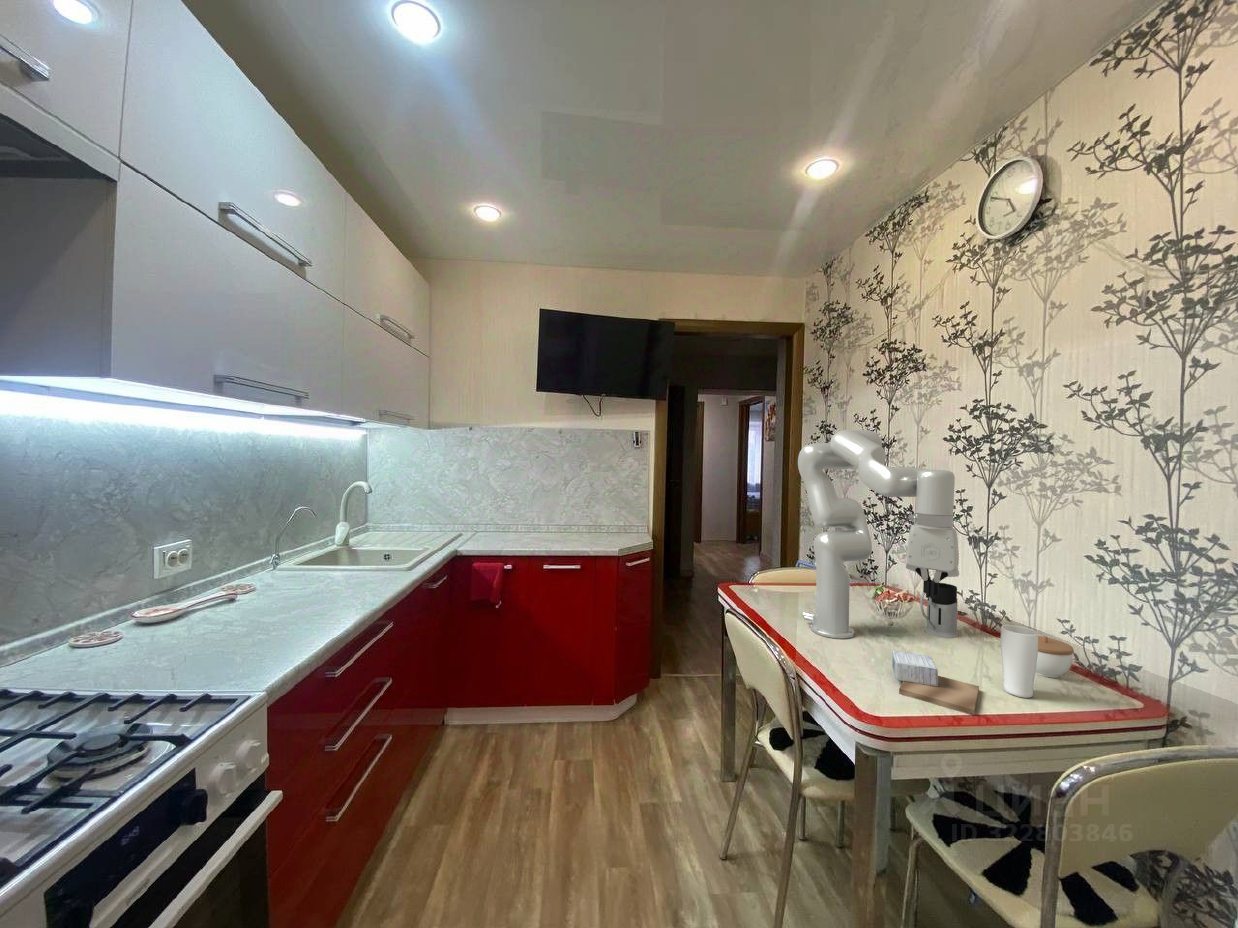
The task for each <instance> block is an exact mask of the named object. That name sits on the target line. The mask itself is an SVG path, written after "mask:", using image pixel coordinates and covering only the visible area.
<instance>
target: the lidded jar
mask: <svg viewBox="0 0 1238 928" xmlns="http://www.w3.org/2000/svg"><path fill="white" fill-rule="evenodd" d="M1038 642H1039V644H1038V657H1037V664H1036V671H1035V675H1038V676H1041V677H1045V678H1052V679H1056V678H1057V679H1058V678H1060V677H1061V676H1062V675H1065V674H1066V673H1068V671H1069V670H1070V669H1071V668H1072V665H1073V660H1074V659H1073V657H1074V647H1073V646H1072V645H1070V644H1068V643H1066V642H1063V641H1062V640H1060V639H1059V640H1058V639H1056V638H1055V639H1054V638H1051V637H1048V636H1047V635H1042V636H1041V635H1038Z"/></svg>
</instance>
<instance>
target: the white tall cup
mask: <svg viewBox="0 0 1238 928" xmlns="http://www.w3.org/2000/svg"><path fill="white" fill-rule="evenodd" d="M1038 636H1039V633H1038V631H1037V630H1034V629H1032V628H1029V627H1025V626H1021V625H1014V624H1004V625H1003V624H1002V625H1001V629H1000V654H1001V665H1002V667H1001V668H1002V681H1003V683H1002V687H1003V690H1004V691H1005V692H1007V693H1008V694H1009V695H1011V696H1014V697H1017V698H1024V699H1030V698H1032V697H1033V696H1034V684H1035V677H1036V674H1035V671H1036V664H1037V657H1038V644H1039V642H1038Z"/></svg>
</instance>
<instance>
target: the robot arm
mask: <svg viewBox="0 0 1238 928" xmlns="http://www.w3.org/2000/svg"><path fill="white" fill-rule="evenodd" d="M886 458H887V453H886V450H885V448H884V447H883V443H882V439H881V437H880V435H879V434H878V433H876V432H875V431H873V430H867V429H842V430H839V431H836V432H835V433H834V434H833V435H832V436H831V438H830V441H829V442H814V443H810V444H806V445H804V446H803V447H802V448H801V450H800V451H799V453H798V457H797V468H798V471H799V472H798V473H799V475H800V477H801V480H802V483H803V484H804V487H805V490H806V496H807V499H808V504H809V510H810V513H811V517H812V520H813V523H814V524H815V525H816V526H817V527H820V528H828V529H829V528H830V529H831V528H842V530H828V531H823V532H820V533H819V534H817V535H816V536H815V537H814V540H813V552H814V556H815V557H814V558H815V566H816V567H815V568H816V573H815V574H816V577H815V578H816V582H815V584H816V586H815V587H816V588H815V589H816V590H815V591H816V592H815V593H816V595H815V596H816V597H815V613H814V612H813V613H810V612H806V611H804V612H803V613H802V618H803V620H804V621H809V622H811V623H810V627H809V628H810V630H811V631H812V632H813V633H815V634H817V635H819V636H822V637H827V638H832V639H849V638H852V637H854V635H855V629H854V628H852V627H851V626H850V586H851V585H850V582H851V581H850V579H851V578H850V573H849V571H848V570H847V568H846V566H845V564H844V563H846V562H860V561H861V562H862V561H864V560H867V559H869V558H870V556H871V554H872V552H873V543H872V539H871V534H870V531H869V527H868V523H867V519H866V515H865V512H864V509H863V506H862V505H861V504H860V503H859V502H858V501H857V499H854V498H850V497H838V495H837V492H836V489H835V485H834V482H833V481H832V480H831V478H830V476H828V474H826V473H825V472H824V471H823V470H849V469H852V468H854V467H855V468H857V473H858V476H859V478H860V481H861V482H862V484H864V485H865V486H866V487H868V488H869V489H870V490H872V492H873V491H874V493H877V494H878V495H880V496H883V497H888V498H903V497H904V498H916V499H915V512H914V513H912V514H911V513H909V514H908V520H909V521H912V522H914V524H911V525H910V527H909V528H910V529H909V532H908V539H907V547H906V557H905V558H906V565H905V568H906V569H907V570H909V571H913V572H915V573H916V574H917V575H918V576H919V577H920V578H921V579H922V581H923V585H922V586H923V588H922V589H923V590H922V591H923V592H922V593H926V594H925V598H927V599H928V598H931V599H934V598H935V596H936V595H939V583H941V581H942V580H944V579H946V578H957V577H959V575H960V570H959V561H960V559H959V557H960V556H959V555H960V553H959V541H958V539H959V538H958V533H957V528H955V527H953V526H954V509H955V508H954V503H955V482H956V481H955V480H956V478H955V474H954V473H953V472H952V470H951V471H950V470H948V469H947V470H946V469H928V468H924V467H915V466H914V467H908V466H907V467H906V466H904V467H903V466H896V467H895V466H894V467H893V466H892V467H891V466H890V467H889V466H888V465H885V461H886ZM930 570H932V571H934V576H933V578H932V577H931V575H930Z"/></svg>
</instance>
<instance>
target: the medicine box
mask: <svg viewBox="0 0 1238 928" xmlns="http://www.w3.org/2000/svg"><path fill="white" fill-rule="evenodd" d="M891 655H892V656H891V668H892V670H893V675H894V679H896V680H897V681H901V682H903V681H907V682H913V683H919V684H925V685H931V686H938V676H939V673H938V672H939V671H938V668H937V665H936V664H935V661H934V660H933V658H932V656H930V655H925V654H918V653H911V652H904V651H899V650H892V654H891Z"/></svg>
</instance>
